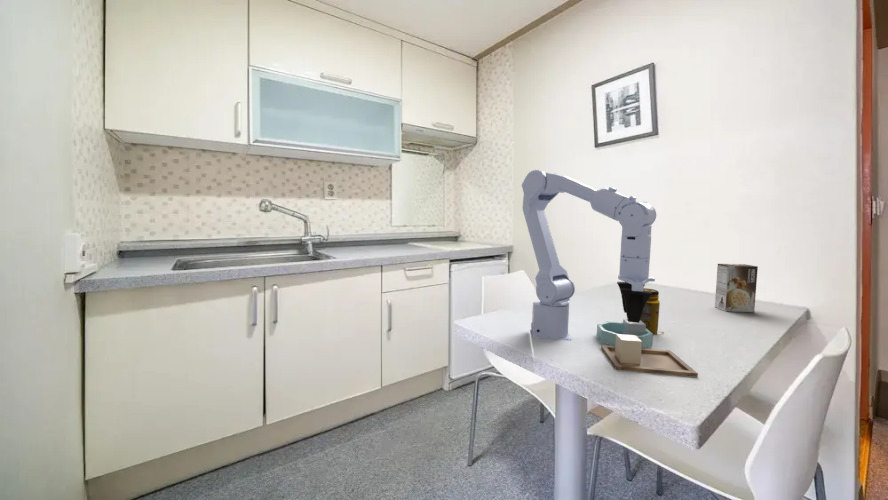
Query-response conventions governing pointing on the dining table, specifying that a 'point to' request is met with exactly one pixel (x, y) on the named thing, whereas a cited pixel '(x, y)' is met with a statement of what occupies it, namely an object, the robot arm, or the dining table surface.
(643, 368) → the tray
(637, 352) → the beige block
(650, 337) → the bowl
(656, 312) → the condiment
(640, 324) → the grey block
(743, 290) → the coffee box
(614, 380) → the dining table surface
